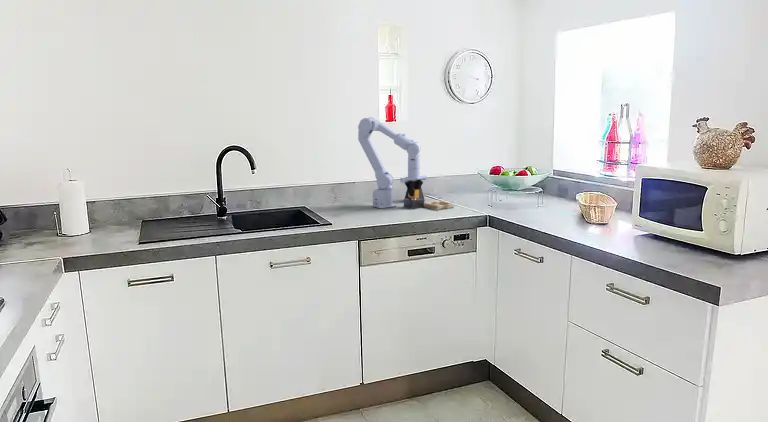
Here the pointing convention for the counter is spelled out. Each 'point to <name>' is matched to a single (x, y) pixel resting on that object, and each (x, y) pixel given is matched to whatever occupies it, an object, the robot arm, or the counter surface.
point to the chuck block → (414, 203)
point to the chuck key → (415, 194)
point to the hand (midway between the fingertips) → (413, 196)
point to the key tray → (438, 205)
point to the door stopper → (419, 194)
